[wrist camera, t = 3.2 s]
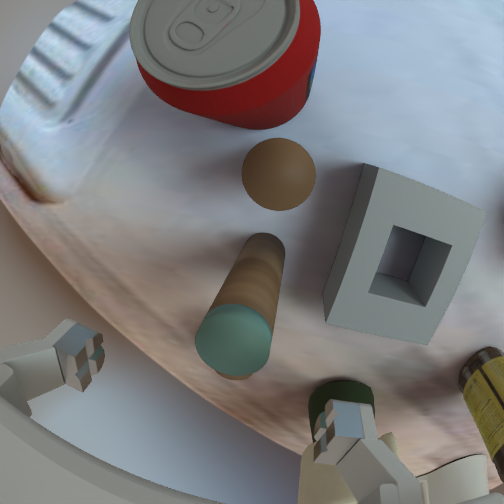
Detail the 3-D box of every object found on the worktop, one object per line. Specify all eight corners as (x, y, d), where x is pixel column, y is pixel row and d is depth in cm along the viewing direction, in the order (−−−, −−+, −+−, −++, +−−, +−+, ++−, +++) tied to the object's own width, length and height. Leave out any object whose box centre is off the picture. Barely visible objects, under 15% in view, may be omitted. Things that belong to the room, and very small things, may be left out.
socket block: (412, 316, 22) (427, 345, 18) (322, 294, 22) (325, 323, 18) (458, 199, 18) (486, 212, 14) (364, 163, 18) (379, 167, 15)
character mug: (337, 434, 28) (338, 537, 16) (281, 416, 27) (265, 528, 15) (403, 370, 24) (437, 490, 11) (342, 345, 23) (358, 484, 11)
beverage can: (332, 81, 17) (371, 3, 6) (264, 151, 19) (215, 159, 8) (255, 23, 16) (206, -82, 5) (191, 91, 18) (79, 49, 7)
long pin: (279, 276, 22) (259, 383, 12) (239, 266, 22) (191, 363, 12) (289, 239, 21) (278, 328, 11) (248, 228, 21) (200, 307, 11)
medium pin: (302, 191, 20) (304, 218, 12) (259, 179, 20) (234, 200, 13) (314, 148, 19) (323, 148, 11) (269, 136, 19) (250, 130, 11)
